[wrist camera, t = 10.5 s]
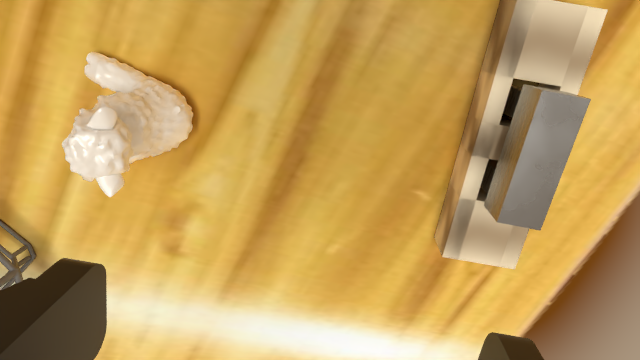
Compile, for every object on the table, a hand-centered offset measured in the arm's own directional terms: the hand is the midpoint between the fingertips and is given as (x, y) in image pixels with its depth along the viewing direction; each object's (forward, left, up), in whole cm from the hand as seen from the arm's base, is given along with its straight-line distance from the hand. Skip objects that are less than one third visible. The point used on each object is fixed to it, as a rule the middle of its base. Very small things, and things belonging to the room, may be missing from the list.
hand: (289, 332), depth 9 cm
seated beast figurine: (+3, -15, -28) cm, 32 cm away
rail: (0, +14, -28) cm, 31 cm away
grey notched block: (0, +14, -28) cm, 31 cm away
